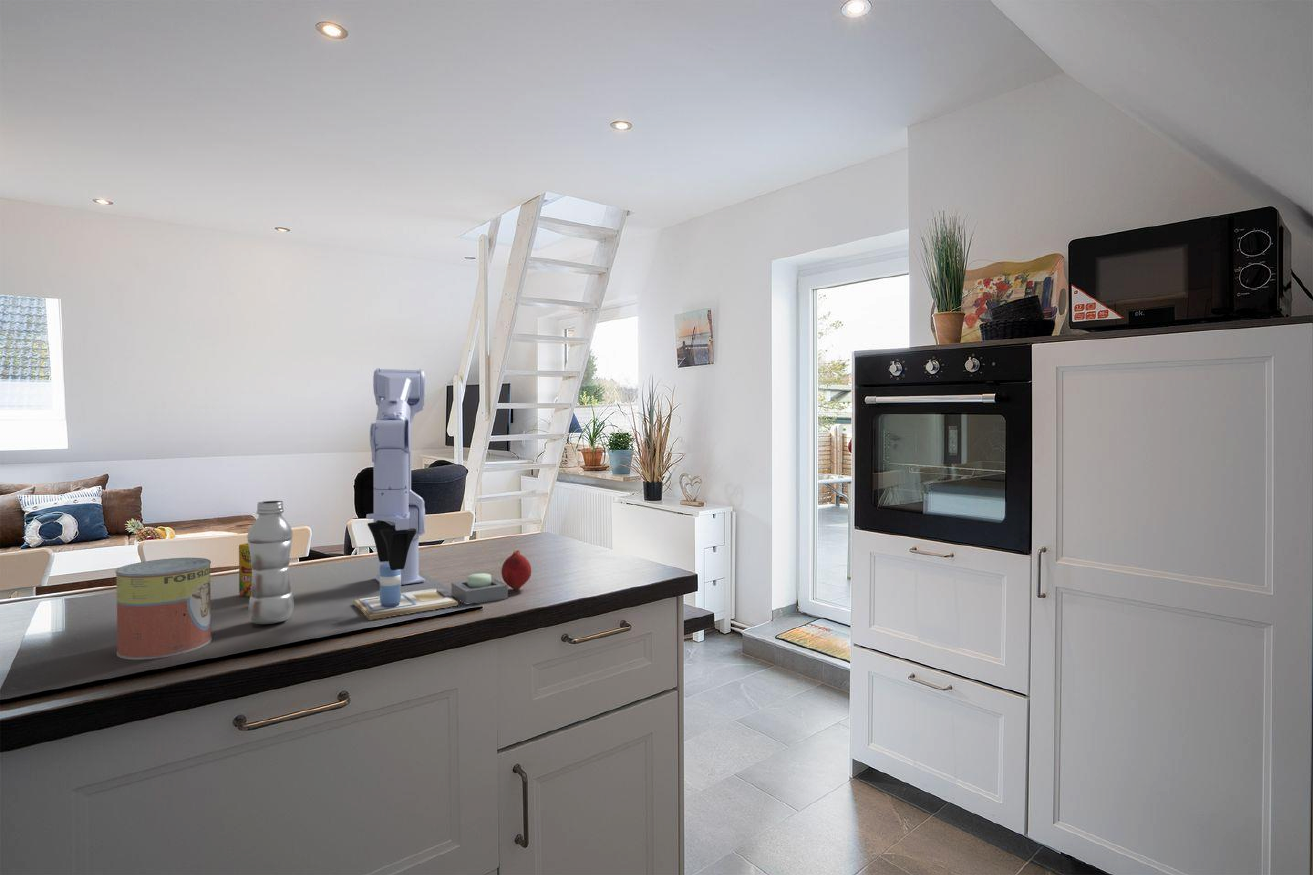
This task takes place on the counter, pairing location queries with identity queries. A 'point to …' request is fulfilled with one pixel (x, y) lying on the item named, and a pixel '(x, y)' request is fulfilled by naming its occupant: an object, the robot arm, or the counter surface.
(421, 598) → the beige tray
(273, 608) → the plastic bottle
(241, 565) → the crayon box
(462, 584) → the button pad
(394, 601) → the blue capped bottle
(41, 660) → the counter surface
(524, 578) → the onion
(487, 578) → the button
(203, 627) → the canned food
